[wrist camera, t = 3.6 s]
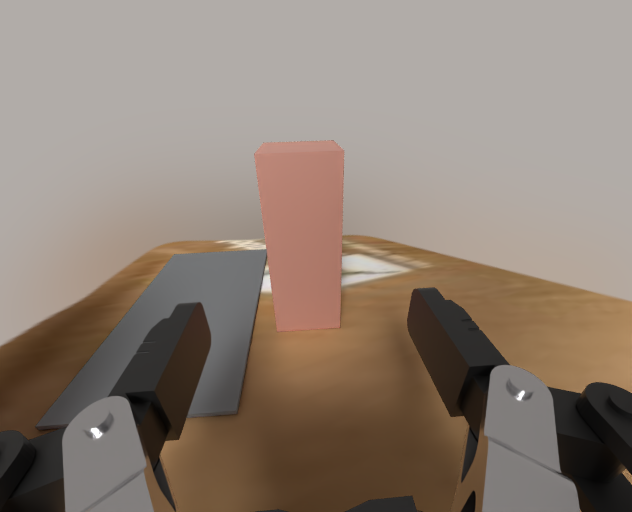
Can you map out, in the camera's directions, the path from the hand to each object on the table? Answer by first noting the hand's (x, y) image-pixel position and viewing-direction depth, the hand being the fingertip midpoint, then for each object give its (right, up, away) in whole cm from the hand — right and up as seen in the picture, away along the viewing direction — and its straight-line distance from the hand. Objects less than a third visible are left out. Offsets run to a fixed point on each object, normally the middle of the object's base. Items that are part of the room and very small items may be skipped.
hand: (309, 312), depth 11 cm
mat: (-9, -2, +11) cm, 15 cm away
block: (0, -2, +11) cm, 11 cm away
